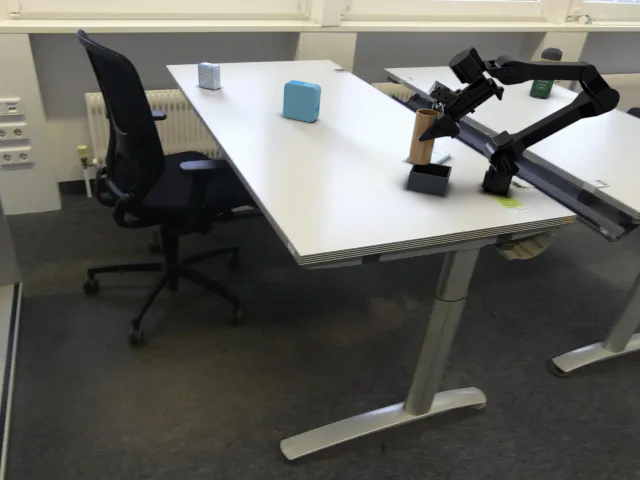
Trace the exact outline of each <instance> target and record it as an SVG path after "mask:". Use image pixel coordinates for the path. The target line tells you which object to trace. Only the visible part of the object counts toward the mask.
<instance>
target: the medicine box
mask: <svg viewBox="0 0 640 480" xmlns="http://www.w3.org/2000/svg"><path fill="white" fill-rule="evenodd" d="M197 74H198V75H197V78H198V87H201V88H205V89H210V90H217V89H220V88H221V66H220V64H219V65H218V64H215V63H209V62H201V63H198V64H197Z"/></svg>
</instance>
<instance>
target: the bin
mask: <svg viewBox="0 0 640 480" xmlns="http://www.w3.org/2000/svg"><path fill="white" fill-rule="evenodd" d="M452 169H453V166H451V165H446V164H441V163H440V164H435V163H429V164H426V165H419V164H413V163H412V166H411V168H410V171H409V175H408V180H407V186H406V190H409V191H414V192H420V193H425V194H430V195H435V196H440V197H445V196H446V193H447V189H448V186H449V182H450V179H451V174H452Z"/></svg>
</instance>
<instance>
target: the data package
mask: <svg viewBox="0 0 640 480" xmlns="http://www.w3.org/2000/svg"><path fill="white" fill-rule="evenodd" d="M321 95H322V87H321V85H320V84H318V83H312V82H307V81H301V80H296V79H292V80H290V81H288V82H286V83H285V84H284V85H283V101H282V104H283V105H282V115H283V116H284V118H287V119H292V120H296V121H302V122H307V123H313V122H314V121H316V120H317V119H318V118H319V116H320V110H321V109H320V108H321V98H322V97H321Z"/></svg>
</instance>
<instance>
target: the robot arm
mask: <svg viewBox="0 0 640 480" xmlns="http://www.w3.org/2000/svg"><path fill="white" fill-rule="evenodd" d="M447 66H448V67H449V69H450V70H451V72H452V73H453V75H454V76H455V77H456V78H457V80H458V81H459V83H460V84H461V85H464V84H467V85H466V86H465V87H464V88H457V89H456V90H453V89H451V88H450V87H448V86H447V85H445V84H444V83H441V82H440V81H438V80H435V81H434V82H433V83H432V85H431V87H430V88H429V90H428V96H429V97H430V98H432V99H433V102H434V103H432V106H431V109H432V110H436V111H438V112H439V113H440V114H439V115H438V116H436V115H435V117H434V122H433V124H432V125H431V126H430V127H429V128H428V129H427V130H426V131H425V132H424V133H423V134H422V135H421V136H420V137H419V138H418V140H419V141H420V142H422V141H427V140H431V139H435V140H436V139H441V138H446V137H447V138H449V137H450V138H451V139H452V140H454V139H456V138H457V137H458V136H459V135H460V133H461V127H460V124H461V123H462V121H461V120H462V119H463V118H465V117H466V116H468V115H469V114H471V115H472V114H475V113H476V110H475V109H477V108H478V107H480V106H481V105H483V104H484V103H485V102H487V101H488V100H489V99H490V98H493V96H495V97H496V98H497V100H498V102H499V101H502V100H503V97H504V96H503V95H504V91H505V88H504V86H513V85H514V86H515V85H521V84H524V83H527V82H530V81H533V80H554V81H571V82H573V81H574V82H576V81H577V82H578V84H579V87H580V89H582V90H581V91H579V92H578V94H577V95H576V97H574V99H573V100H572V101H571V102H570V103H569V104H567V105H565V106H563V107H561V108H559V109H558V110H556V111H554V112H552V113H551V114H549V115H546V116H545V117H543V118H541V119H539V120H538V121H536V122H534V123H532V124H530V125H529V126H527V127H525V128H523V129H521V130H520V131H518V132H515V133H509V132H508V131H507V130H506V129H505V130H503V131H501V132H500V133H499V134H497V135H495V136H491V137H490V140H489V141H488V142H486V143H485V146H484V148H483V153H484V156H485V158H486V159H487V161H488V164H489V165H488V169H486V170H485V172H484V176H483V179H482V183H481V188H482V193H484V194H490V195H495V196H501V197H505V198H507V197H509V193H510V187H511V184H512V182H513V181H512V180H513V179H514V177H516V176H517V174H518V173H519V172H520V168H519V166H518V165H517V164H516V162H515V161H517V160H518V159H519V158H520V157H521V155H522V154H523V153H524V152H525V151H526V150H527V149H528V148H530V147H533V146H535V145H536V144H538V143H540V142H542V141H543V140H545V139H547V138H549V137H551V136H553V135H555V134H556V133H558V132H560V131H562V130H564V129H566V128H567V127H569V126H571V125H574V124H575V123H577V122H579V121H581V120H583V119H584V120H585V119H589V118H596V117H599V116H601V115H605V114H607V113H610V112H612V111H614V110H615V109H616V108H617V107H618V104H619V102H620V99H621V94H620V92H619V91H618V90H617V89H616V88H614V87H612V86H610V85H609V83H608V82H607V81H606V80H605V78H603V76H602V74H600V72H599V71H598V69H597V67H596V66H595V65H594V64H593V63H591V62H590V61H586V60H581V61H561V62H550V61H539V60H529V59H526V58H523V57H518V56H514V55H510V54H509V55H508V54H502V55H499V56H498V57H497V58H496V59H489V60H488V59H487V60H483V59H482V58H481V56H480V55H479V53H478V50H477V49H476V47H474V46H470V47H469V48H468V49H464V50H463V51H461V52H458V53H457V54H455V55H454V56H453V57H452V58H451V59H450V60H449V62H448V64H447ZM484 73H485V74H487V75H488V76H490V77H486V75H485V74H484ZM495 79H496V80H497V81H498V82H499V83H500V84H501V86H500V85H498V84H497V83H496V81H495Z"/></svg>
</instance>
